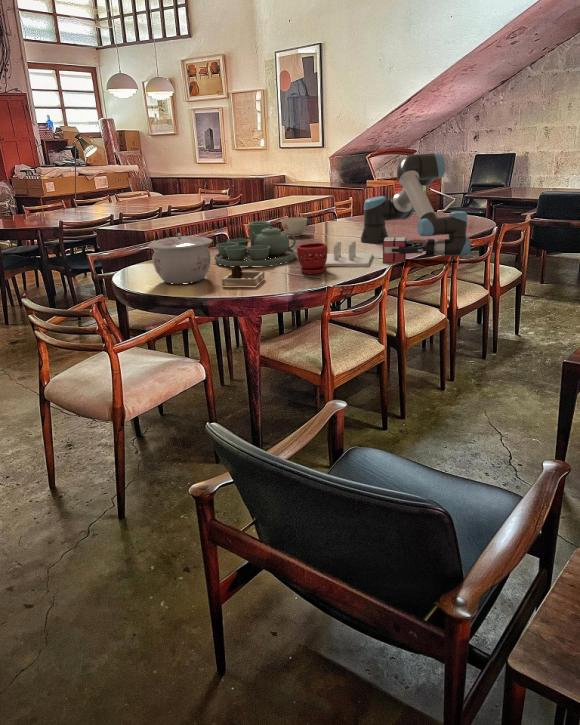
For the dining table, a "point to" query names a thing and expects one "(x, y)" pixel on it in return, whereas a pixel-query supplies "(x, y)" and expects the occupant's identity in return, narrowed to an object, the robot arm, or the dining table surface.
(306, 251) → the plant pot
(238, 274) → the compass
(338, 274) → the dining table surface
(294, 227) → the bowl
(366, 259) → the standoff plate
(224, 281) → the watch display frame
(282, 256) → the tea set
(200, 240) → the chamber pot
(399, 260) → the puzzle cube
